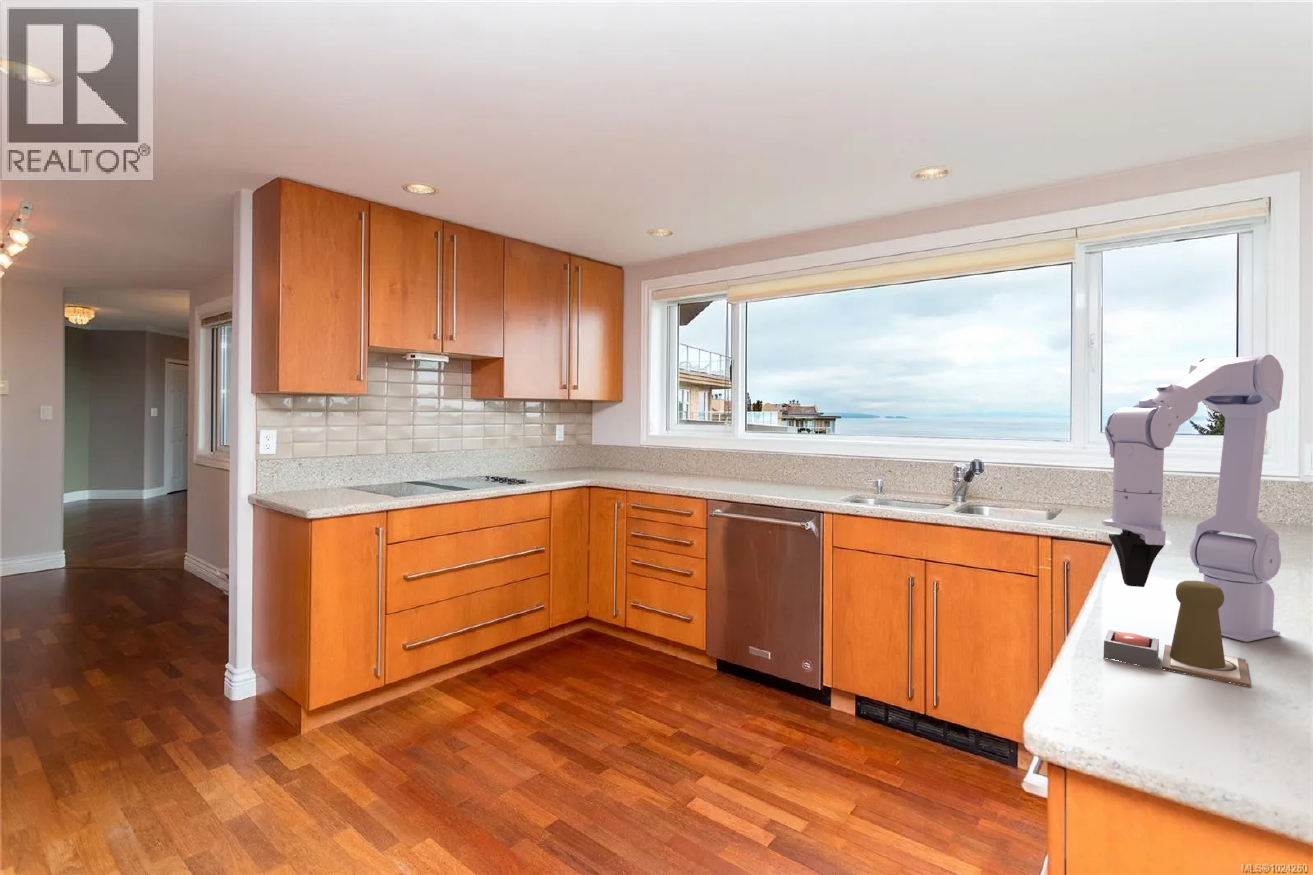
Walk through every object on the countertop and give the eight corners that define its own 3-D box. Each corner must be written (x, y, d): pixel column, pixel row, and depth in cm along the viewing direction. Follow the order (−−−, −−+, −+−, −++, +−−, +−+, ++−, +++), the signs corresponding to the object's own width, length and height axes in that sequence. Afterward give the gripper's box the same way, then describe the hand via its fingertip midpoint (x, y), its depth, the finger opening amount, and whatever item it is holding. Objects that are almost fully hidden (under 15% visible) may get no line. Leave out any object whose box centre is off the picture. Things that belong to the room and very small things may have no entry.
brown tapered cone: (1236, 670, 87) (1240, 589, 87) (1185, 667, 88) (1188, 586, 88) (1207, 653, 93) (1210, 577, 93) (1160, 650, 94) (1162, 575, 94)
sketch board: (1164, 647, 98) (1164, 642, 98) (1245, 662, 92) (1245, 657, 92) (1161, 669, 89) (1161, 664, 89) (1250, 687, 84) (1250, 682, 84)
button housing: (1107, 647, 98) (1108, 629, 98) (1158, 656, 94) (1159, 639, 94) (1103, 658, 93) (1104, 640, 93) (1156, 669, 89) (1156, 650, 89)
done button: (1115, 641, 96) (1116, 630, 96) (1149, 647, 94) (1150, 636, 94) (1113, 648, 93) (1113, 637, 93) (1147, 655, 91) (1148, 644, 91)
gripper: (1089, 484, 101) (1086, 571, 102) (1122, 496, 88) (1119, 596, 88) (1142, 486, 99) (1140, 575, 100) (1185, 498, 85) (1182, 601, 86)
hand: (1134, 585), depth 94 cm, fingers closed
